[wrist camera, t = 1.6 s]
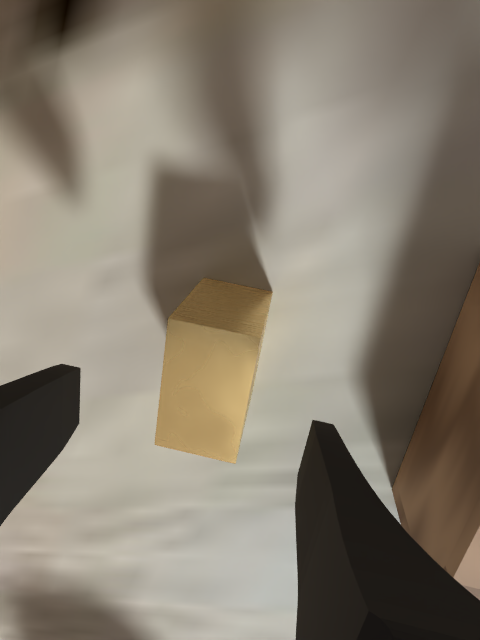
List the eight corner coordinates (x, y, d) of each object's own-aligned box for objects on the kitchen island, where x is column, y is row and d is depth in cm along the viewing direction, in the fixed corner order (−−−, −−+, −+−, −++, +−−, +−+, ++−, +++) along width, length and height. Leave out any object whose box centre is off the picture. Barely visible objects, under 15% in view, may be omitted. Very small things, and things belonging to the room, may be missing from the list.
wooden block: (252, 392, 20) (235, 463, 15) (189, 378, 20) (154, 444, 15) (272, 291, 18) (260, 337, 13) (203, 277, 18) (168, 318, 13)
